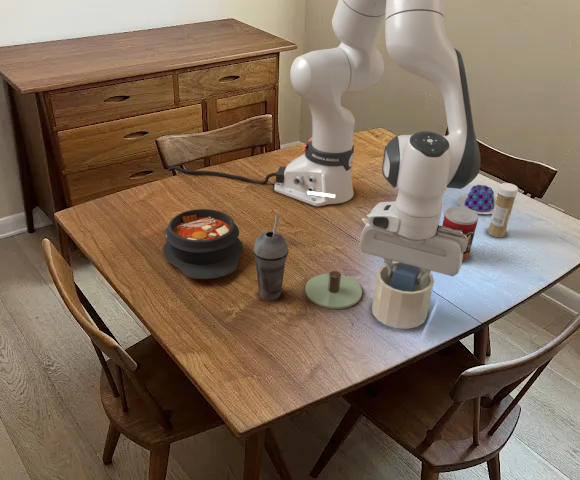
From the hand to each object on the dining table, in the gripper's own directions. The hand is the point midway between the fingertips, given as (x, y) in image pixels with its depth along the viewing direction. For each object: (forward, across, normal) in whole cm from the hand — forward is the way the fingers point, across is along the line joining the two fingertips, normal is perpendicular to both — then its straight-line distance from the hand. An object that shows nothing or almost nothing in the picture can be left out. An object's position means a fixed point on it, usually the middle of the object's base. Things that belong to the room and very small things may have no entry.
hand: (405, 279), depth 123 cm
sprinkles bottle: (+9, -13, -44) cm, 47 cm away
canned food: (+9, -5, -29) cm, 31 cm away
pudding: (+9, -6, -57) cm, 58 cm away
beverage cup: (+9, +27, +7) cm, 29 cm away
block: (+2, 0, 0) cm, 2 cm away
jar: (+9, 0, 0) cm, 9 cm away
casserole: (+9, +48, 0) cm, 49 cm away
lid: (+8, +15, 0) cm, 17 cm away
